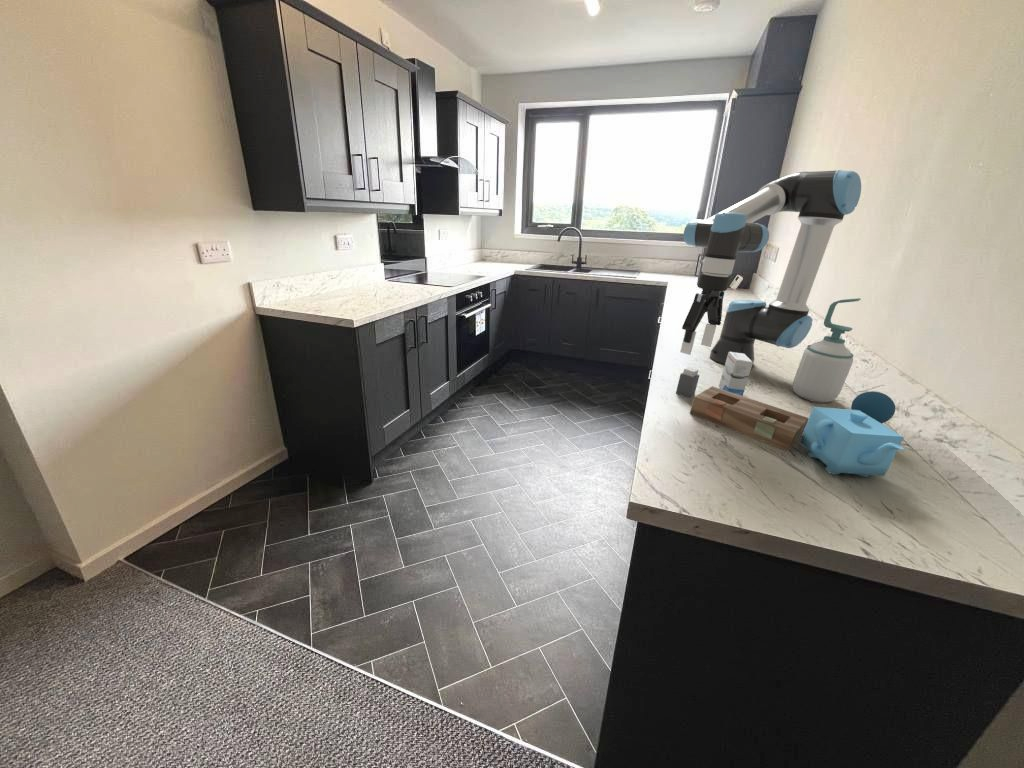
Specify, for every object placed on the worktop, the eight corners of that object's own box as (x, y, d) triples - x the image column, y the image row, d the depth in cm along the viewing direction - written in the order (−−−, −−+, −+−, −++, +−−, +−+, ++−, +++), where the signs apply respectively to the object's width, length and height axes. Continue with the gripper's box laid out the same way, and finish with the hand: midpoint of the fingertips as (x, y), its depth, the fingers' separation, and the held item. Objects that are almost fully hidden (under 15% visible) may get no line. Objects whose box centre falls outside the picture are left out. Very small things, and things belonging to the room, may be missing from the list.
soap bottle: (830, 409, 121) (873, 304, 109) (783, 394, 129) (819, 295, 117) (840, 399, 129) (882, 299, 117) (796, 385, 137) (830, 291, 125)
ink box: (742, 398, 124) (754, 361, 120) (725, 396, 125) (736, 359, 120) (734, 387, 132) (744, 353, 127) (718, 385, 133) (728, 351, 128)
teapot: (786, 447, 98) (805, 398, 93) (851, 451, 98) (873, 403, 93) (839, 495, 82) (865, 439, 77) (917, 501, 82) (948, 445, 77)
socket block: (708, 401, 120) (712, 385, 118) (802, 435, 104) (809, 417, 102) (689, 413, 112) (693, 395, 110) (787, 451, 96) (795, 432, 94)
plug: (681, 390, 127) (687, 365, 124) (694, 394, 125) (700, 370, 122) (675, 393, 125) (681, 368, 122) (688, 397, 122) (695, 372, 119)
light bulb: (843, 423, 112) (861, 383, 108) (882, 436, 107) (902, 394, 102) (838, 433, 107) (856, 391, 102) (878, 446, 102) (900, 403, 97)
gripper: (719, 270, 121) (701, 339, 130) (681, 274, 105) (663, 352, 113) (746, 274, 116) (725, 346, 125) (710, 278, 100) (689, 360, 108)
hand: (695, 349), depth 119 cm, fingers open, 13 cm apart
